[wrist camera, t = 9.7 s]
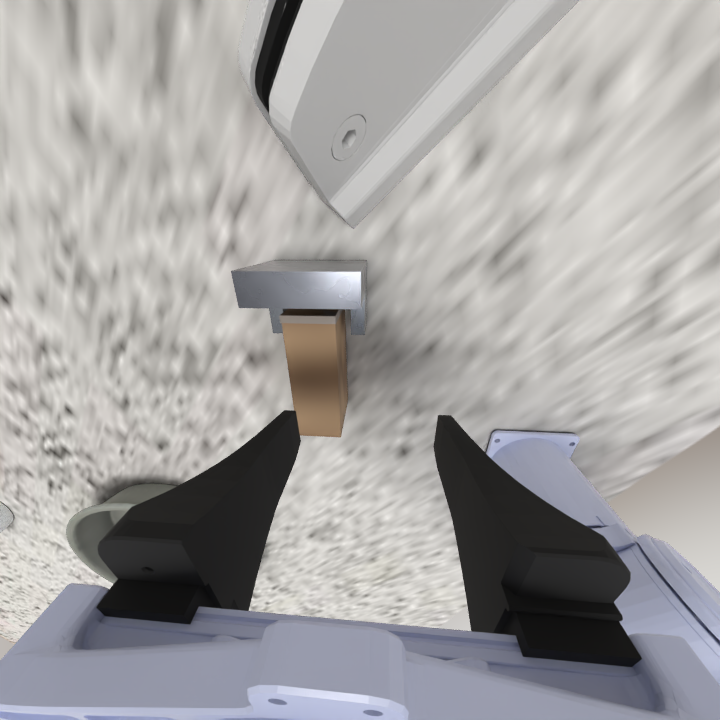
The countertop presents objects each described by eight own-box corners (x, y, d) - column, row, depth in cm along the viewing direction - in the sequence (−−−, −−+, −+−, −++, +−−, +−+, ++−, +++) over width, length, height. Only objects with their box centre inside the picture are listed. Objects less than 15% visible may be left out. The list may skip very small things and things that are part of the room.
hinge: (349, 233, 18) (256, 152, 9) (310, 181, 19) (178, 49, 9) (595, -17, 13) (1046, -952, 3) (536, -88, 13) (807, -1185, 3)
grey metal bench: (366, 324, 21) (360, 358, 15) (284, 322, 22) (249, 355, 16) (366, 260, 19) (360, 271, 13) (275, 260, 20) (230, 271, 14)
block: (348, 400, 25) (341, 438, 20) (311, 399, 25) (296, 436, 21) (345, 298, 20) (335, 316, 16) (301, 297, 21) (279, 315, 16)
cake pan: (63, 472, 33) (19, 504, 29) (241, 473, 31) (221, 508, 27) (146, 571, 44) (122, 605, 40) (283, 578, 42) (272, 614, 38)
